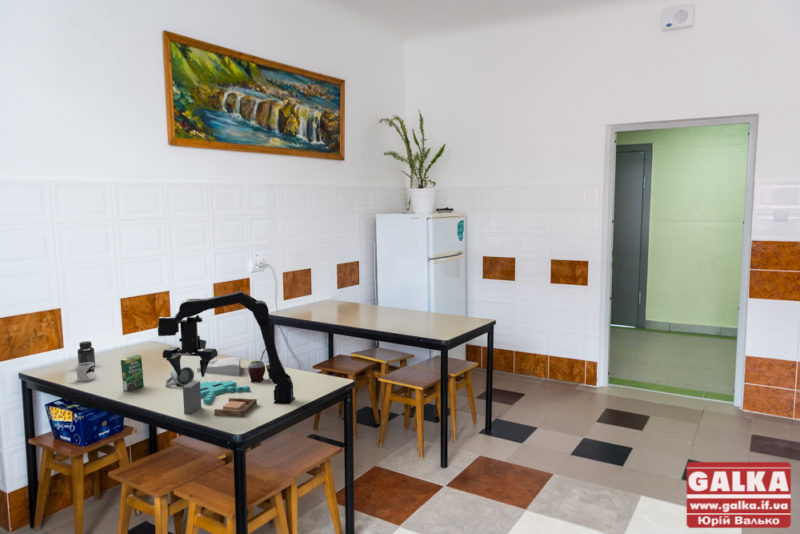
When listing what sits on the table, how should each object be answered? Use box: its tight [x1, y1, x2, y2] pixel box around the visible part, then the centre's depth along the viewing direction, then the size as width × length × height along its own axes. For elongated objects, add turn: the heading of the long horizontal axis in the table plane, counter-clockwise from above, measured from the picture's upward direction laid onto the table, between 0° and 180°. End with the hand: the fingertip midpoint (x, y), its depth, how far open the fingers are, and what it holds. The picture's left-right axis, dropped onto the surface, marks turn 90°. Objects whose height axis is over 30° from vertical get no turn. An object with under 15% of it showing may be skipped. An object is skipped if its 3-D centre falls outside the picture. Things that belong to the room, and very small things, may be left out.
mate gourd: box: [247, 348, 267, 384], centre depth 250 cm, size 8×8×15 cm
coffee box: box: [120, 354, 145, 392], centre depth 241 cm, size 8×3×13 cm, turn 150°
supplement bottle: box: [77, 340, 96, 368], centre depth 270 cm, size 7×7×12 cm
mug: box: [75, 362, 96, 383], centre depth 255 cm, size 10×7×7 cm, turn 0°
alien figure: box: [200, 380, 251, 406], centre depth 236 cm, size 20×2×20 cm
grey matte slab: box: [182, 380, 202, 415], centre depth 215 cm, size 3×7×10 cm, turn 171°
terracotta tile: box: [222, 401, 247, 410], centre depth 218 cm, size 6×6×2 cm
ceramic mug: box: [165, 364, 195, 388], centre depth 246 cm, size 11×8×8 cm
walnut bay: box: [213, 397, 258, 418], centre depth 216 cm, size 11×13×2 cm
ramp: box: [196, 356, 242, 377], centre depth 266 cm, size 28×16×5 cm, turn 53°
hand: (191, 376), depth 214 cm, fingers open, 9 cm apart
